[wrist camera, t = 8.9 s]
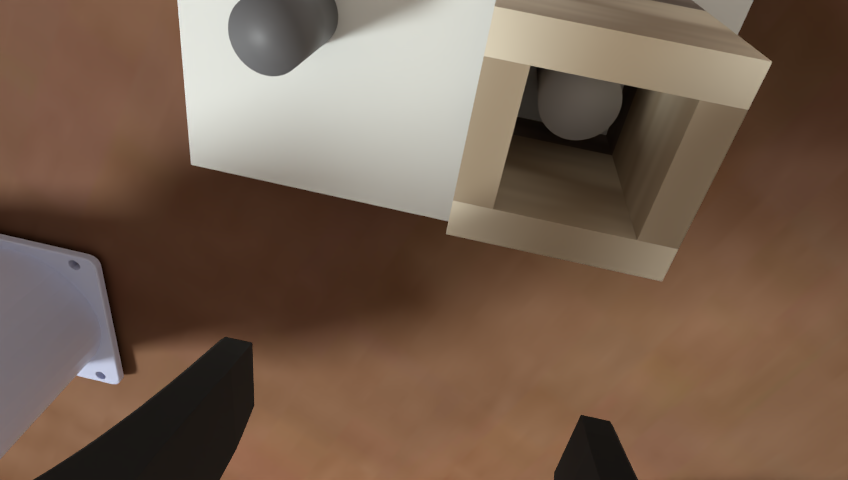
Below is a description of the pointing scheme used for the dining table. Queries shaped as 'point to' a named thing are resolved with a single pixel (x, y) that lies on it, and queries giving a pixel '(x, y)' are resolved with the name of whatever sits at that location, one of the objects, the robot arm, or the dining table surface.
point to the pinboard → (363, 93)
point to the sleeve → (603, 154)
